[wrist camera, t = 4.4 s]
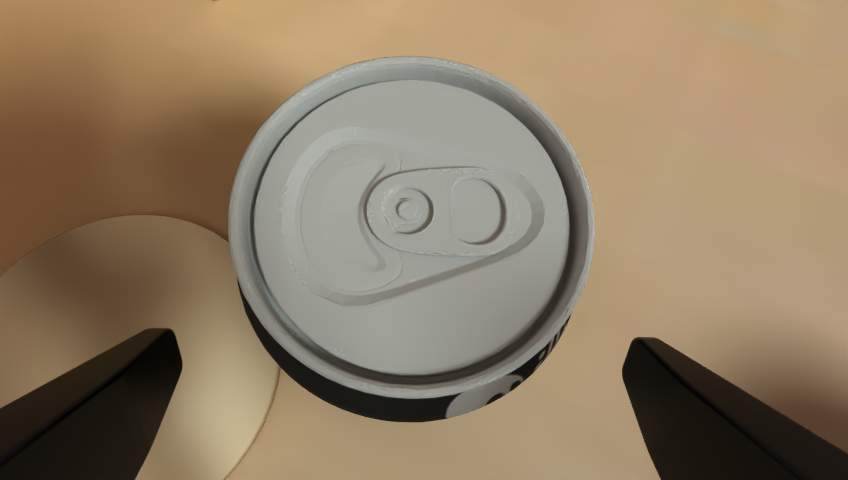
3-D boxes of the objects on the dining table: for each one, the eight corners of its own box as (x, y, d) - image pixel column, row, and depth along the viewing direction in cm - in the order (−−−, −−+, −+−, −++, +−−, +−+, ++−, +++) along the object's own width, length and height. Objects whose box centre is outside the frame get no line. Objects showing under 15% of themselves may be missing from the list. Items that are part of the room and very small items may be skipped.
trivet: (75, 629, 14) (57, 643, 13) (-105, 368, 16) (-130, 367, 15) (343, 359, 17) (341, 358, 16) (163, 170, 19) (153, 161, 19)
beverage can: (329, 242, 19) (223, 30, 7) (475, 240, 19) (588, 38, 8) (322, 400, 17) (163, 444, 5) (486, 394, 17) (662, 422, 6)
